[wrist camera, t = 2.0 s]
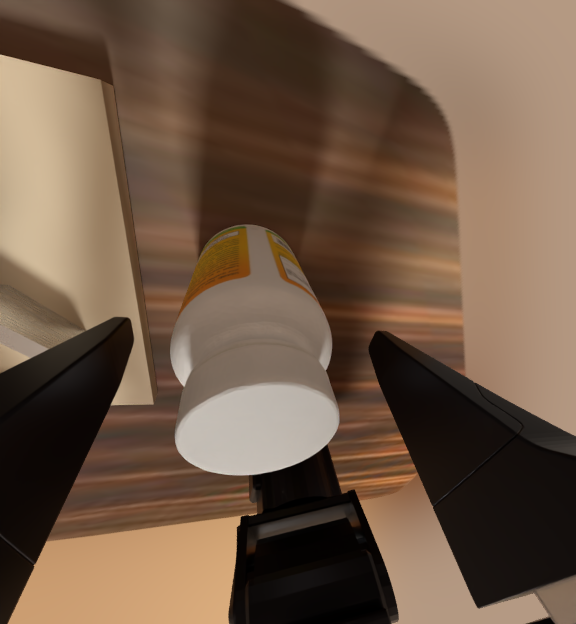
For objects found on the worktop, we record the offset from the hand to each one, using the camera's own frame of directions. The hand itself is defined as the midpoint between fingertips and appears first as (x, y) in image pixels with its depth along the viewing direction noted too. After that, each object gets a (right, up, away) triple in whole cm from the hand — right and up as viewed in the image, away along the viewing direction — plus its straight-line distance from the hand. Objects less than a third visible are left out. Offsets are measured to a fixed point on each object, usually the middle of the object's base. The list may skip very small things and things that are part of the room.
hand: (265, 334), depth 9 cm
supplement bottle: (-1, +3, +5) cm, 6 cm away
